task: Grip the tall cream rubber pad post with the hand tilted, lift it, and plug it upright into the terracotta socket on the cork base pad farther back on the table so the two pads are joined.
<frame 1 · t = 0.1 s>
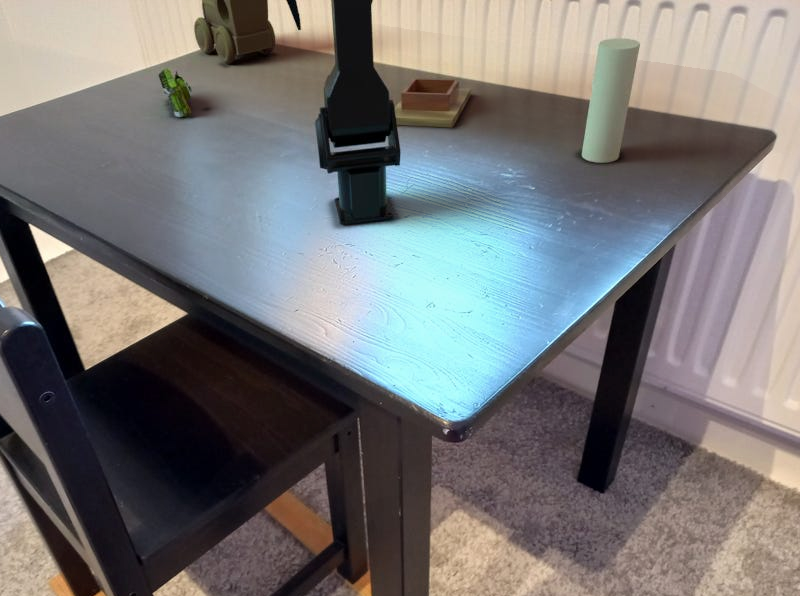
hand: (331, 26, 99), 15 cm above the table, tool pointing down, fingers open, 9 cm apart
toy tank: (185, 102, 125), on the table
wooden toy train: (237, 55, 146), on the table
pad post: (600, 155, 93), on the table
base pad: (430, 109, 111), on the table
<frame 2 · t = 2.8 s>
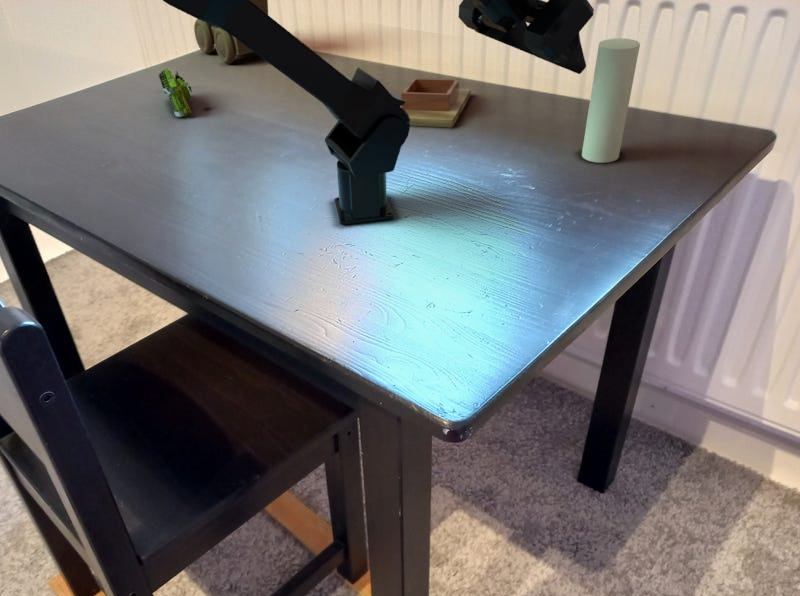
hand: (558, 60, 83), 13 cm above the table, tool tilted 45°, fingers open, 9 cm apart
nothing on the table moved.
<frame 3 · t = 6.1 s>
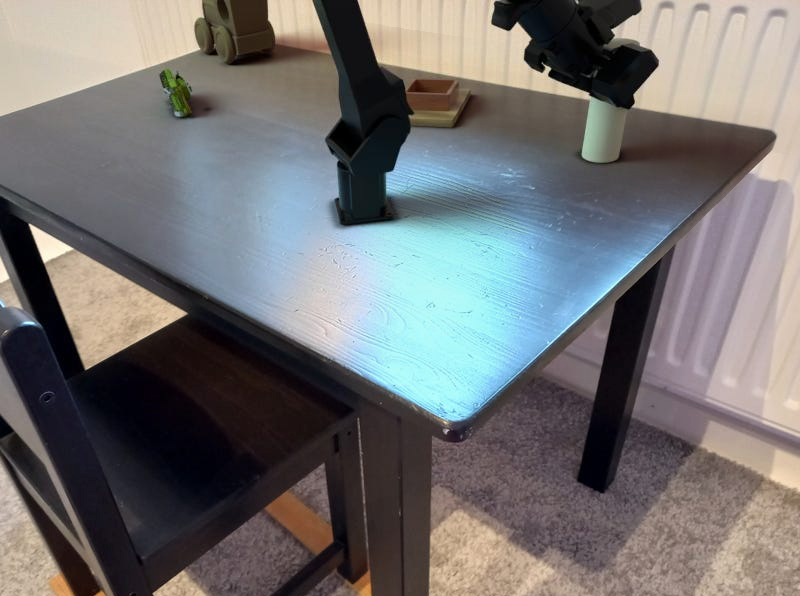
hand: (618, 100, 89), 7 cm above the table, tool tilted 45°, fingers closed on pad post, 4 cm apart
pad post: (600, 155, 93), on the table, touching gripper
everything else where it was.
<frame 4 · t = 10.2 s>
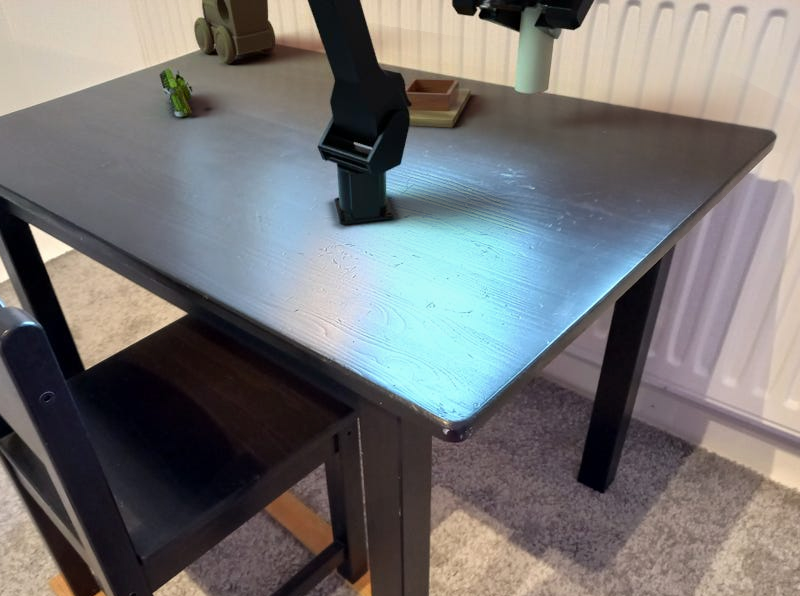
hand: (542, 33, 96), 12 cm above the table, tool tilted 45°, fingers closed on pad post, 4 cm apart
pad post: (531, 88, 100), point 5 cm above the table, touching gripper
everything else where it was.
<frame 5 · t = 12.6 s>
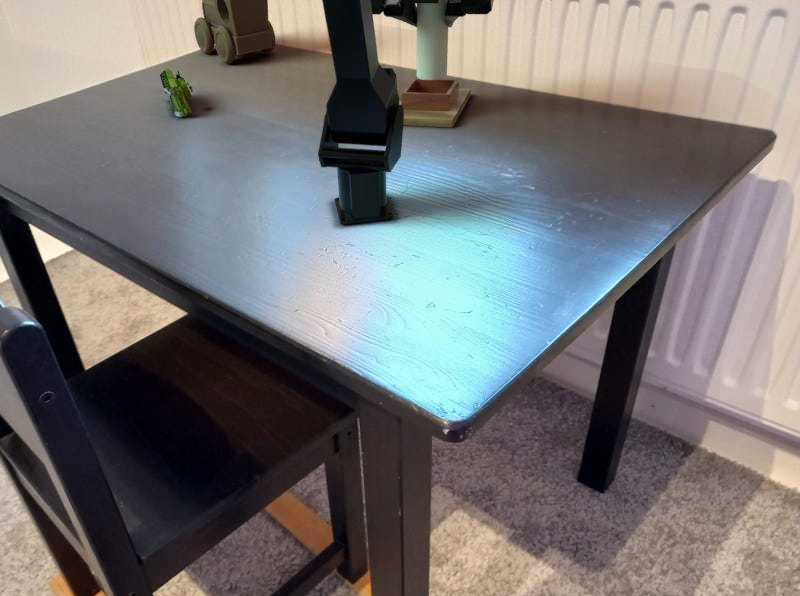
hand: (434, 24, 105), 12 cm above the table, tool tilted 45°, fingers closed on pad post, 4 cm apart
pad post: (431, 75, 108), point 5 cm above the table, touching gripper
everything else where it was.
when the fingers open (8 cm above the table, at t = 14.6 s): pad post stays where it is, resting on base pad.
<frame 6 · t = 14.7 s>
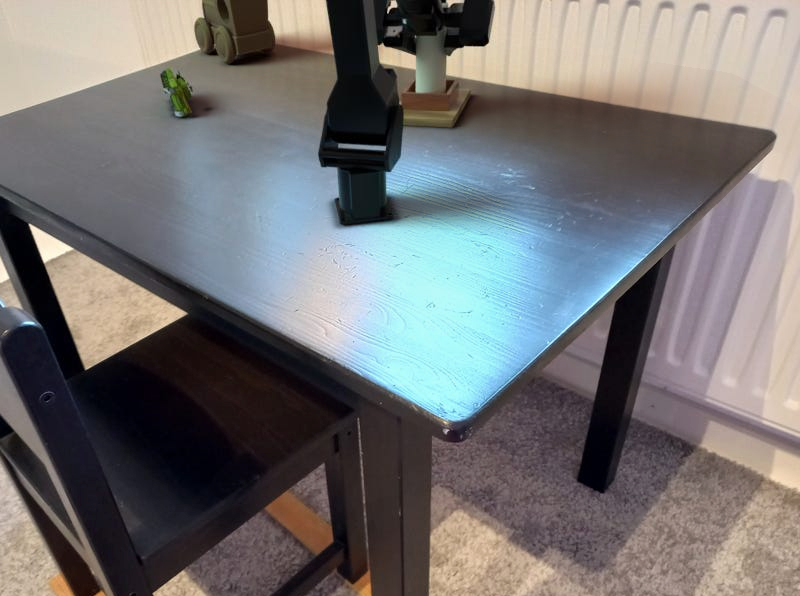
hand: (433, 52, 107), 8 cm above the table, tool tilted 45°, fingers open, 5 cm apart
pad post: (430, 102, 111), point 1 cm above the table, touching base pad
everything else where it was.
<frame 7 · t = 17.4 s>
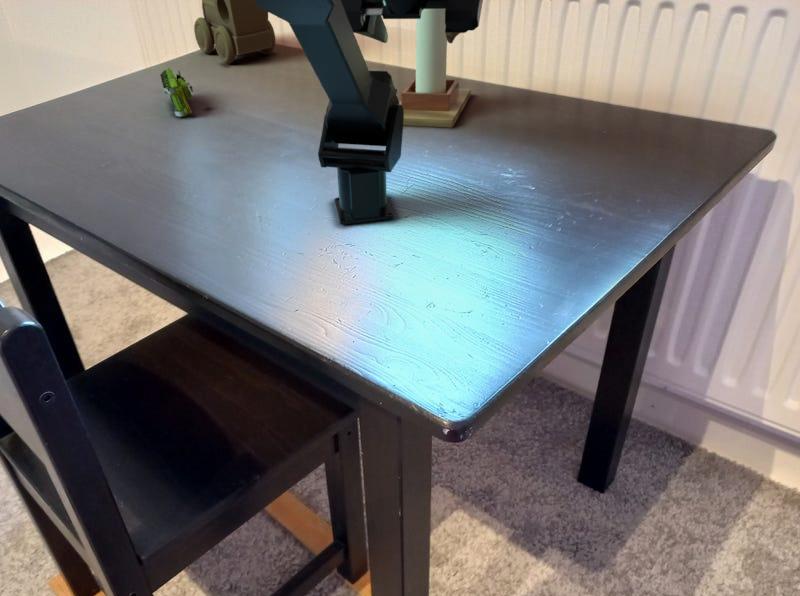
hand: (418, 39, 98), 13 cm above the table, tool tilted 45°, fingers open, 9 cm apart
nothing on the table moved.
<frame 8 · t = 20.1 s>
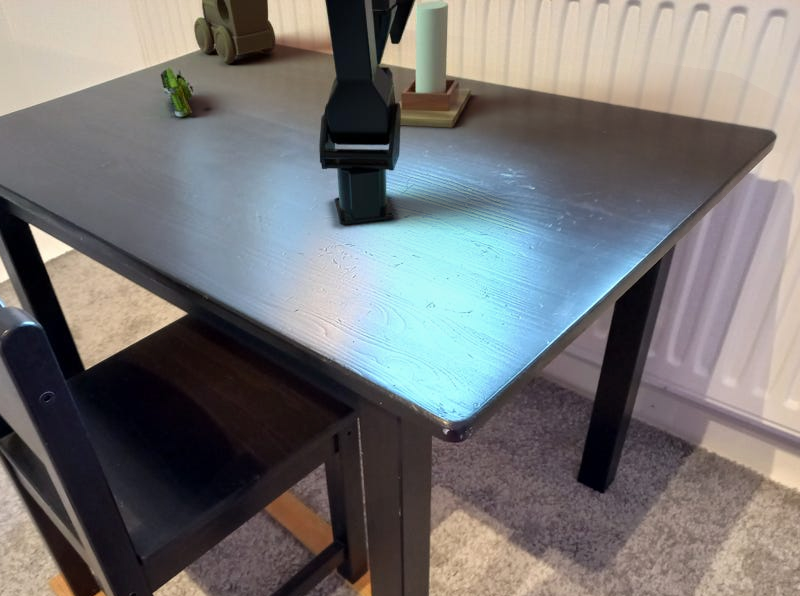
hand: (386, 53, 92), 13 cm above the table, tool pointing down, fingers open, 9 cm apart
nothing on the table moved.
at the end: pad post 0.0 cm off-centre on the base pad, point 1.2 cm above the base pad's base; pad post tilted 0° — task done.
